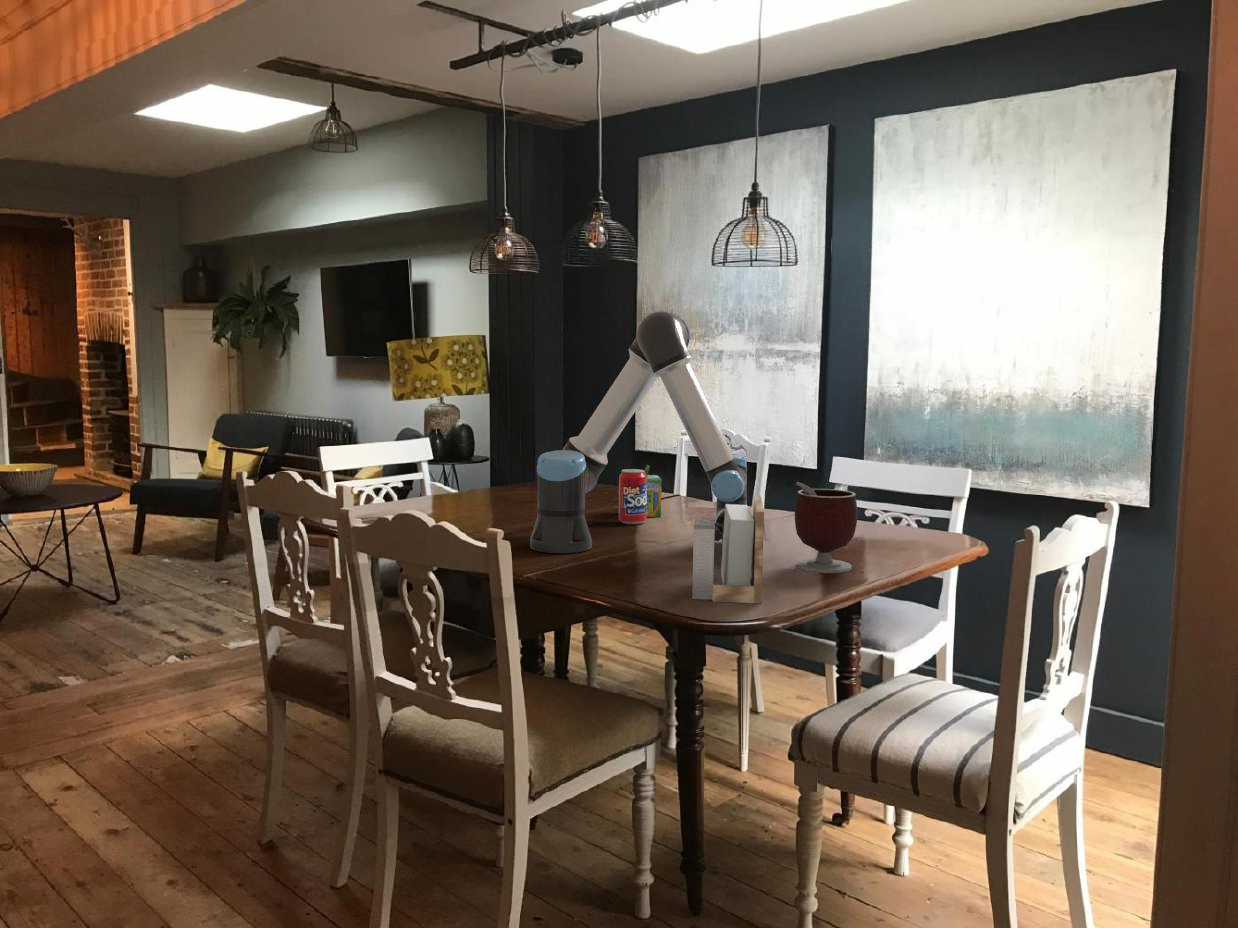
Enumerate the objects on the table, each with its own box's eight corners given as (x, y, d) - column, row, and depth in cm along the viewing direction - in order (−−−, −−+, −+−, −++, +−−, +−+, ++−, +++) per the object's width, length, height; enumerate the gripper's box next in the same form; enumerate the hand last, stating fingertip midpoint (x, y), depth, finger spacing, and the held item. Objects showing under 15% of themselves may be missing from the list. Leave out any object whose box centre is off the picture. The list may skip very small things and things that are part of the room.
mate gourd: (827, 558, 237) (830, 474, 235) (868, 570, 225) (871, 482, 222) (775, 564, 230) (777, 478, 227) (813, 576, 217) (817, 485, 215)
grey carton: (692, 598, 197) (693, 524, 195) (693, 589, 205) (695, 518, 203) (712, 599, 197) (714, 525, 195) (713, 589, 205) (715, 518, 203)
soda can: (630, 519, 287) (631, 467, 285) (652, 522, 282) (652, 470, 281) (612, 523, 281) (613, 470, 279) (634, 526, 276) (635, 472, 274)
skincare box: (752, 599, 198) (755, 520, 196) (725, 598, 198) (727, 519, 196) (745, 575, 219) (747, 503, 217) (720, 574, 219) (722, 502, 217)
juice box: (626, 512, 299) (626, 463, 298) (656, 512, 300) (657, 463, 299) (630, 517, 290) (631, 467, 288) (661, 517, 291) (662, 467, 290)
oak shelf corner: (712, 601, 195) (714, 510, 193) (714, 576, 217) (716, 494, 215) (761, 603, 194) (764, 511, 192) (758, 577, 216) (760, 495, 214)
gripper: (758, 540, 242) (760, 560, 218) (704, 538, 243) (700, 558, 220) (758, 509, 241) (761, 526, 217) (704, 507, 242) (701, 524, 219)
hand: (730, 542), depth 219 cm, fingers closed
